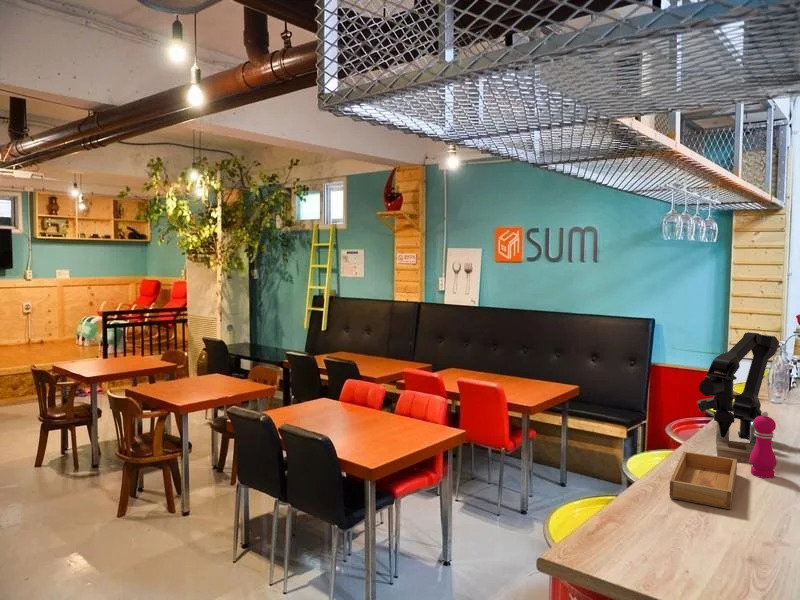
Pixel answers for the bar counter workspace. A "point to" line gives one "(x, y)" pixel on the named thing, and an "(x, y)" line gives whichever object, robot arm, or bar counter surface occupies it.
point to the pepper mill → (763, 447)
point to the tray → (704, 479)
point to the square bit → (718, 435)
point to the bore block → (734, 450)
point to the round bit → (752, 433)
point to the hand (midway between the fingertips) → (722, 435)
